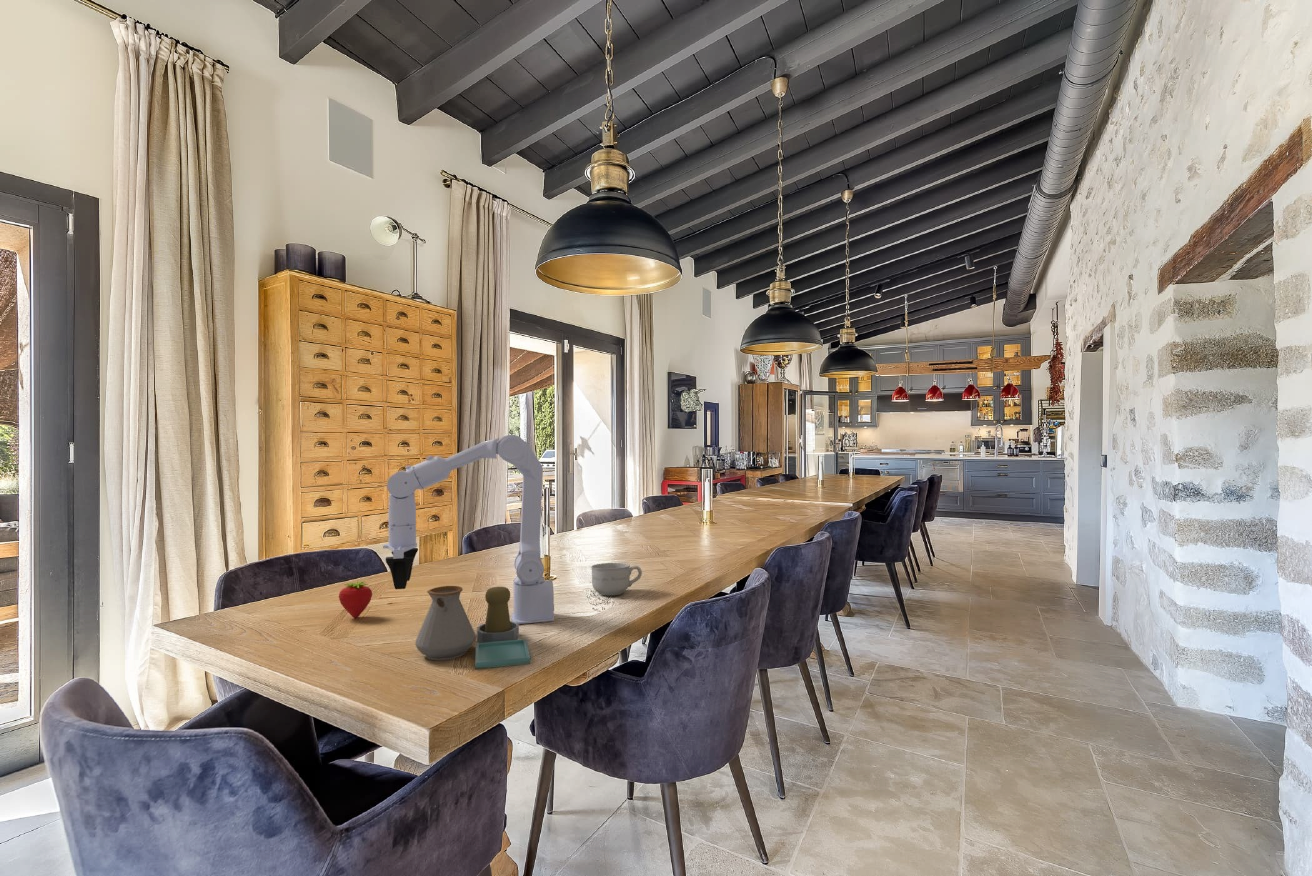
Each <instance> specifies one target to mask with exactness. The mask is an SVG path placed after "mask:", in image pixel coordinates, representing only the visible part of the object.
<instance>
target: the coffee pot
mask: <svg viewBox="0 0 1312 876" xmlns="http://www.w3.org/2000/svg"><path fill="white" fill-rule="evenodd" d="M461 592H463V587H462V586H458V585H443V586H442V585H441V586H438V587H433V588H431V589H428V590H427V591H426V593H427V594H428V596H429V597H430V598H431V600H432V601H431V604H430V607H429V608H428V611H427V613H426V615H425V618H424V619H423V623H422V625H421V627H420V629H419V632H418V635H417V637H416V639H415V647H416V649H417V651H419V652H420V653H421V654H422V655H424V656H425V658H426V659H429V660H432V661H446V660H453V659H457V658H460V657H462V656H464V655H465V654H466V653H467V651H468V650H470V648H471V647H472V646H473V645H474V643H475V641H476V640H477V634H476V633H475V630H474V629H473V626H472V624H471V622H470V619H469V617H468V615H467V613H466V610H465V609H464V607H463V604H462V602H461V599H460V596H461Z"/></svg>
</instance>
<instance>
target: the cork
mask: <svg viewBox="0 0 1312 876" xmlns="http://www.w3.org/2000/svg"><path fill="white" fill-rule="evenodd" d="M484 596H485V597H484V598H485V602H486V603H487V609H486V615H485V616H486V618H485V623H486V624H485V623H484V624H485V631H484V632H488V633H498V632H506V631H509V630H511V624H510V621H511V619H510V618H511V615H510V610H509V601H510V599H511V592H510V590H509V588H508V587H506V586H494V587H490V588H489V589H487V590H486V592H485V595H484Z"/></svg>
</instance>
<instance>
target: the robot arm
mask: <svg viewBox="0 0 1312 876" xmlns="http://www.w3.org/2000/svg"><path fill="white" fill-rule="evenodd" d="M497 455H499V458H501V459H502V460H503V461H505V462H507V463H509V464H510V465H513V467H515V468H516V469H517V470H518V471H519V473H521V474H522V490H521V508H520V509H521V513H520V514H521V515H520V531H519V532H520V534H519V535H520V537H519V545H518V554H517V555H516V557H515V558H514V563H513V564H514V569H515V572H516V577H515V578H513V612H511V613H510V618H511V621H512V622H515V623H518V625H521V624H524V625H525V624H534V623H546V622H554V621H555V617H554V616H555V615H554V614H555V599H554V595H555V594H554V584H553V583H554V582H553V580H551V579H548V580H546V579H545V576H544V571H545V568H544V567H545V566H544V564H543V561H542V558H541V557H542V556H541V555H542V554H541V552H542V551H541V520H542V499H543V498H542V497H543V496H542V495H543V475H544V474H543V473H544V469H543V465H542V463H541V462H540V460H539V458H538V457H537V455H536V454H535V452H534V451H533V449H532V447H531V445H530V444H529V443H528V442H527V441H525V440H524V438H521V437H520V436H518V435H515V434H507V435H504V436H502V437H501V438H500V437H498V438H493V439H490V440H486V441H482V442H480V443H478V444H476V445H475V444H474V445H472V446H471V447H469V448H466V449H465V450H462V451H460V452H458V453H456V454H453V455H451V456H449V457H447V458H443V457H441V456H439V455H435V456H434V457H433V456H432V455H429V456H427V457H425V460H424V461H422V462H421V461H420V462H419V463H417V464H415V465H414V464H413V465H412V466H411V465H410V464H409V465H406V466H405V467H404V468H405V470H400V471H396V472H395V473H393V474H392V475H390V476H389V478H388V479H387V483H386V488H387V491H388V492H389V494H388V495H389V497H388V501H389V503H388V543H384V544H383V545H382V549H388V550H390V551H391V554H392V556H386V557H385V563H386V565H387V566H388V568H389V571H390V573H391V576H392V577H391V578H392V582H393V587H394V589H395V590H405V589H406V588H407V584H408V582H409V581H410V579H411V577H412V570H413V565H414V561H415V557H416V555H417V553H418V551H419V548H418V543H417V516H416V515H417V503H416V493H415V491H416V490H420V491H422V490H424V489H426V488H427V489H428V487H431V486H434V485H436V484H438V483H440V482H443V481H445V480H448V478H449V476H450V473H451V472H452V471H453V470H456V469H459V468H461V467H464V466H466V465H469V464H471V463H473V462H474V463H475V462H477V461H479V460H481V459H493V460H494V459H495V460H496V459H498V458H497Z"/></svg>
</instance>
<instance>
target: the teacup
mask: <svg viewBox="0 0 1312 876" xmlns="http://www.w3.org/2000/svg"><path fill="white" fill-rule="evenodd" d="M590 568H591V584H592V585H591V586H592V588H593V589H594V590H595V592H597V594H599V595H600V594H601V596H619V595H622V594H624V593H625V591H627V589H628V588H630V587H632V585H633V584H635V583H636V582H638V581H639V580H640V578H641V577H642V575H643V571H642V569H641V567H640V566H638V565H633V566H631V565H630V564H628V563H626V562H625V563H624V562H603V563H596V564H594V565H591V566H590ZM633 570H637V572H638V574H637V576H636V577H635V578H633V579H631V574H632V571H633ZM621 593H622V594H621Z"/></svg>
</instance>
